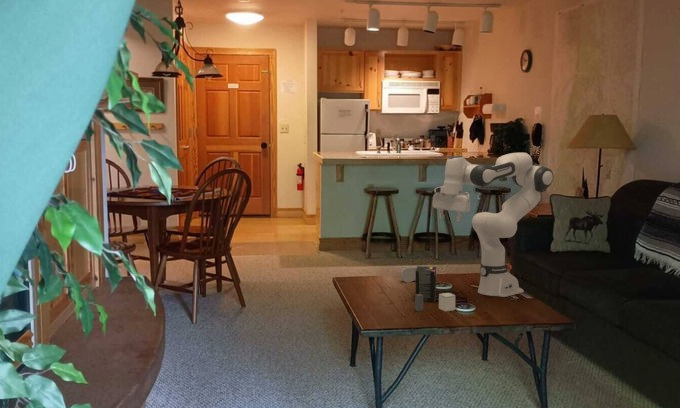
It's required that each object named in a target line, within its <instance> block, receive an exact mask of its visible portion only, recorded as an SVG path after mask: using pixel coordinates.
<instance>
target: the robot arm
mask: <svg viewBox="0 0 680 408" xmlns="http://www.w3.org/2000/svg"><path fill="white" fill-rule="evenodd" d="M444 168H445V169H444V180H443V184H442V185H440V186H438V187H435V188H434V189H433V190H434V194H433V197H432V205H431V206H432V208H433V209H437V210H438V214H439V219H440V220H445V216H446V215H444V213H443V212H444V211H451V212H456V213H457V216H456V217H455V218H454V221H455V222H457V223H460V222H461V218H462V217H463V216H464V214H468V213H470V211H471V195H470V194H469V192H467V191H463V189H464V185H466V186H467V185H469V186H476V187H481V188H485V187H488V186H489V185H491V184H492V183H493V182H494V181H497V180H499V179H503V178H510V177H511V178H512V182H513V183H514V184H515V185H517V186H518V187H521V188H520V190H519V191H518V192H516V193H515V194H513V195H512V196H511V197H509V198H508V199H506V201H504V202H503V203H502V205H501V211H500V212H497V213H494V212H488V211H484V212H483V211H481V212H476V214H474V215H473V217H472V220H471V226H472V229H473V230H474V231H475V232H476V234H477V238H478V239H479V243H480V248H481V251H480V252H481V263H480V269H479V270H480V278H479V279H480V280H479V285H478V288H477V293H478V294H481V295H485V296H490V297H502V298H505V297H510V296H513V295H519V294H523V293H524V289H523V288H521V287H520V286H519V280H518V279H517V277H515V276H514V275H513V274H511V273H510V272H509V271H508V270H512V268H513V267H512V265H511V264H505V263H506V248H505V246H504V245H503V244H502V243H501V241H500V240H501V239H506V238H507V239H508V238H509V239H510V238H512V237H513V236H515V234H516V232H517V231H518V222H519V221H520V220H521V219H522V218H523V217H525V216H526V215H527V214H529V213H530V212H532V210H533V209H534V208H535V207H536V206H537V205H538V204H539V203H540V200H541V193H544V192H546V191H547V189H548V188H549V187H550V186H551V185H552V183H553V181H554V171H553V170H552V169H550V168H549V167H547V166H541V165H533V158H532V156H531V155H530V153H529V154H528V153H527V152H511V153H507V154H504V155H501V156H499V157H498V158H496V161H495V165H492V166H490V165H488V164H472V163H471V162H469V161H468V160H467V159H466V158H465V157H464V156H463V155H452V156H448V157H447V159H446V162H445V167H444ZM463 213H464V214H463Z"/></svg>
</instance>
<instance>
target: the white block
mask: <svg viewBox="0 0 680 408" xmlns="http://www.w3.org/2000/svg"><path fill="white" fill-rule="evenodd" d="M438 309H439V310H441V311H444V312H450V311H451V312H452V311H455V310H456V295H455V294H452V293H450V292H445V293H439V294H438Z"/></svg>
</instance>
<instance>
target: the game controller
mask: <svg viewBox="0 0 680 408" xmlns="http://www.w3.org/2000/svg"><path fill="white" fill-rule="evenodd" d="M417 266H418V265H417ZM417 266H413V265H412V266H409V265H408V266H404V267H403V268H402V269H401V270H400V273H399V276H400V279H401V280H402V281H403V282H405V283H412V282H413V281H416V273H415V271H416V269H417ZM421 266H422V267H424V266H426V267H433V266H432V265H421ZM437 274H438V273H437V271H436V276H438V275H437Z"/></svg>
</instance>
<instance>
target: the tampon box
mask: <svg viewBox="0 0 680 408" xmlns="http://www.w3.org/2000/svg"><path fill="white" fill-rule="evenodd" d="M422 266H424V267H422ZM426 266H427V265H417V269H416V271H415V273H416V280H415V295H416V294H421V295H423V302H427V303H428V302H429V303H431V302H432V303H435V302H436V298H437V275H436V272H437V267H436V266H432V267H426Z"/></svg>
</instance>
